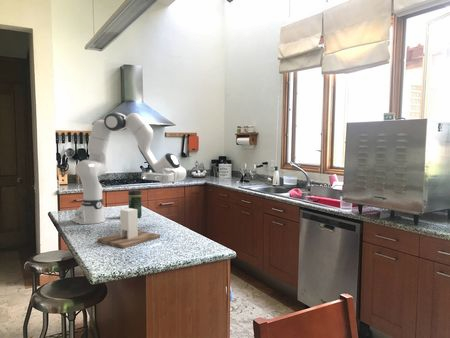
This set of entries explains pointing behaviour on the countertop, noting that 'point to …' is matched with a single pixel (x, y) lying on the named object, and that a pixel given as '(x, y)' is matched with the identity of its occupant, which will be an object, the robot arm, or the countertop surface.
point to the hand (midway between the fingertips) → (147, 177)
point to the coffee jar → (135, 200)
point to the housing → (129, 222)
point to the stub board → (124, 242)
